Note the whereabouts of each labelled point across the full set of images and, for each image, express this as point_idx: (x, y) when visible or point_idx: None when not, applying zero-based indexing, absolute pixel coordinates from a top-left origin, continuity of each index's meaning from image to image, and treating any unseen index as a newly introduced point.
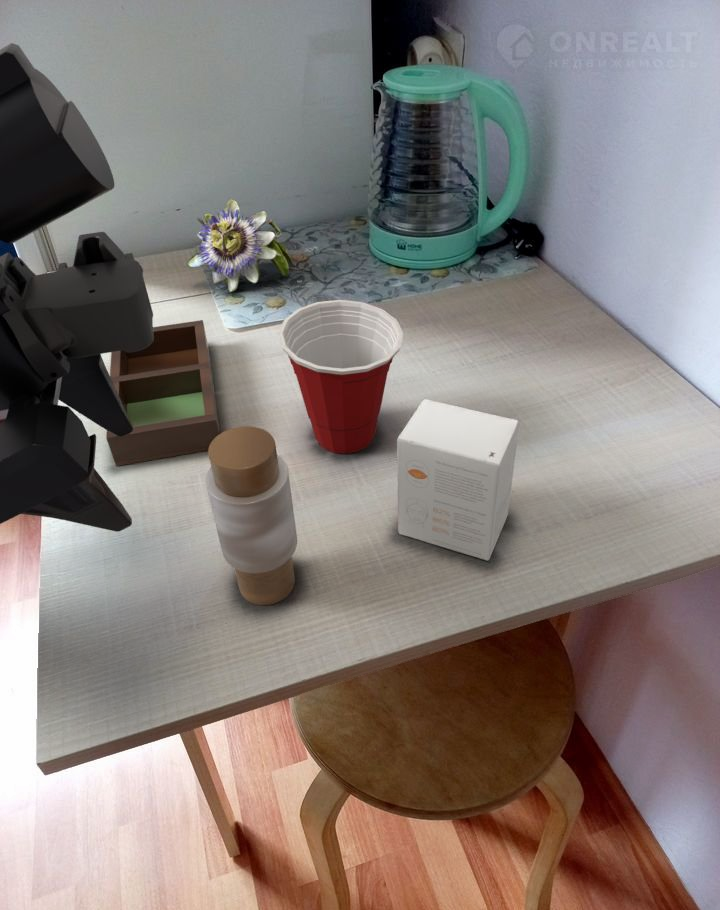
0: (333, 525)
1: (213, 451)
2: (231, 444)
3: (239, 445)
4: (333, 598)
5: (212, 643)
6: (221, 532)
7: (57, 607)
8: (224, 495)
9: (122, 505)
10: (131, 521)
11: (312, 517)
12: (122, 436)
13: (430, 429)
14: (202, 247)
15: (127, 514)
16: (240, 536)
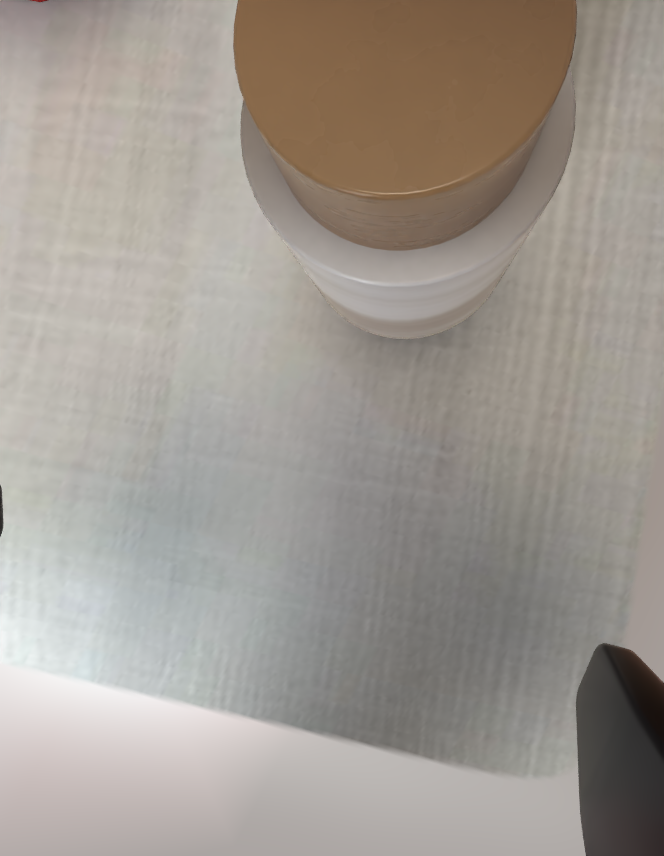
0: None
1: (363, 168)
2: (354, 70)
3: (381, 34)
4: None
5: (505, 434)
6: (442, 313)
7: (256, 699)
8: (476, 235)
9: (644, 706)
10: (629, 651)
11: None
12: (2, 527)
13: None
14: None
15: (634, 673)
16: (509, 263)
